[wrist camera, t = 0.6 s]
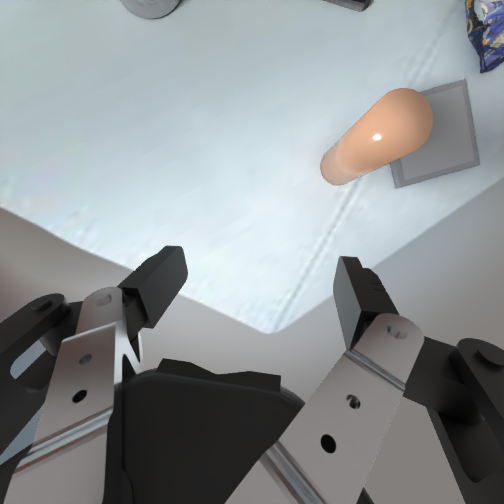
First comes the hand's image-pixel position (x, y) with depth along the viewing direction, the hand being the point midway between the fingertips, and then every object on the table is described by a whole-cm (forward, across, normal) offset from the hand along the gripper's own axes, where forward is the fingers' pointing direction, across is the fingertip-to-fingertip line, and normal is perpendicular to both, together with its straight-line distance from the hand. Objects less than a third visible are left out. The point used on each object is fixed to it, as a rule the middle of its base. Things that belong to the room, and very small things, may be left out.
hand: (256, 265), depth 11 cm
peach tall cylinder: (+26, -8, -1) cm, 28 cm away
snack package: (+38, -27, -17) cm, 50 cm away
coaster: (+30, -21, -4) cm, 37 cm away
